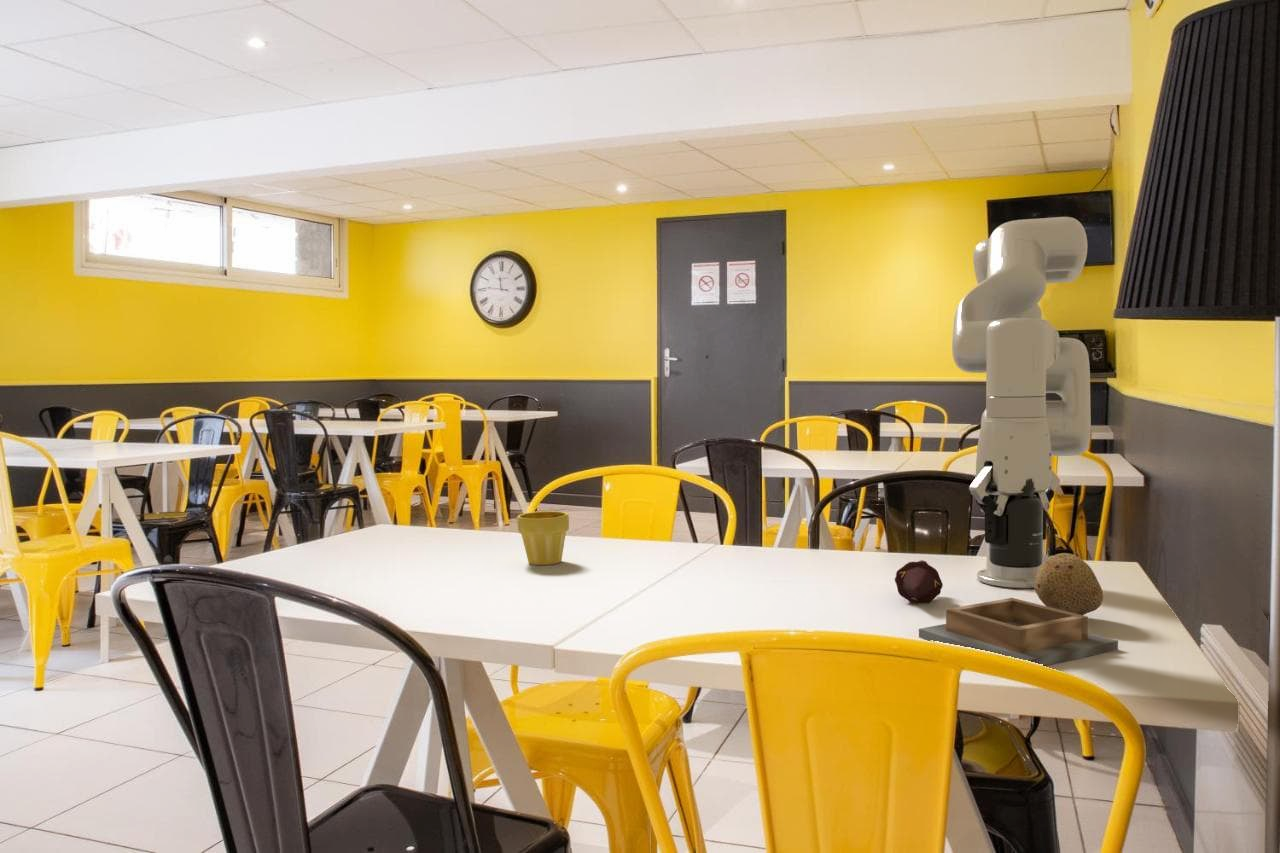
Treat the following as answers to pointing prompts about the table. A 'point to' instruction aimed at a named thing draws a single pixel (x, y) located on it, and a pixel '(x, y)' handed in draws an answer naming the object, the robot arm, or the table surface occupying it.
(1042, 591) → the natural sponge
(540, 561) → the plant pot
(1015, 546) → the supplement bottle
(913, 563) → the icecream
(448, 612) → the table surface
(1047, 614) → the collar board
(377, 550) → the table surface
